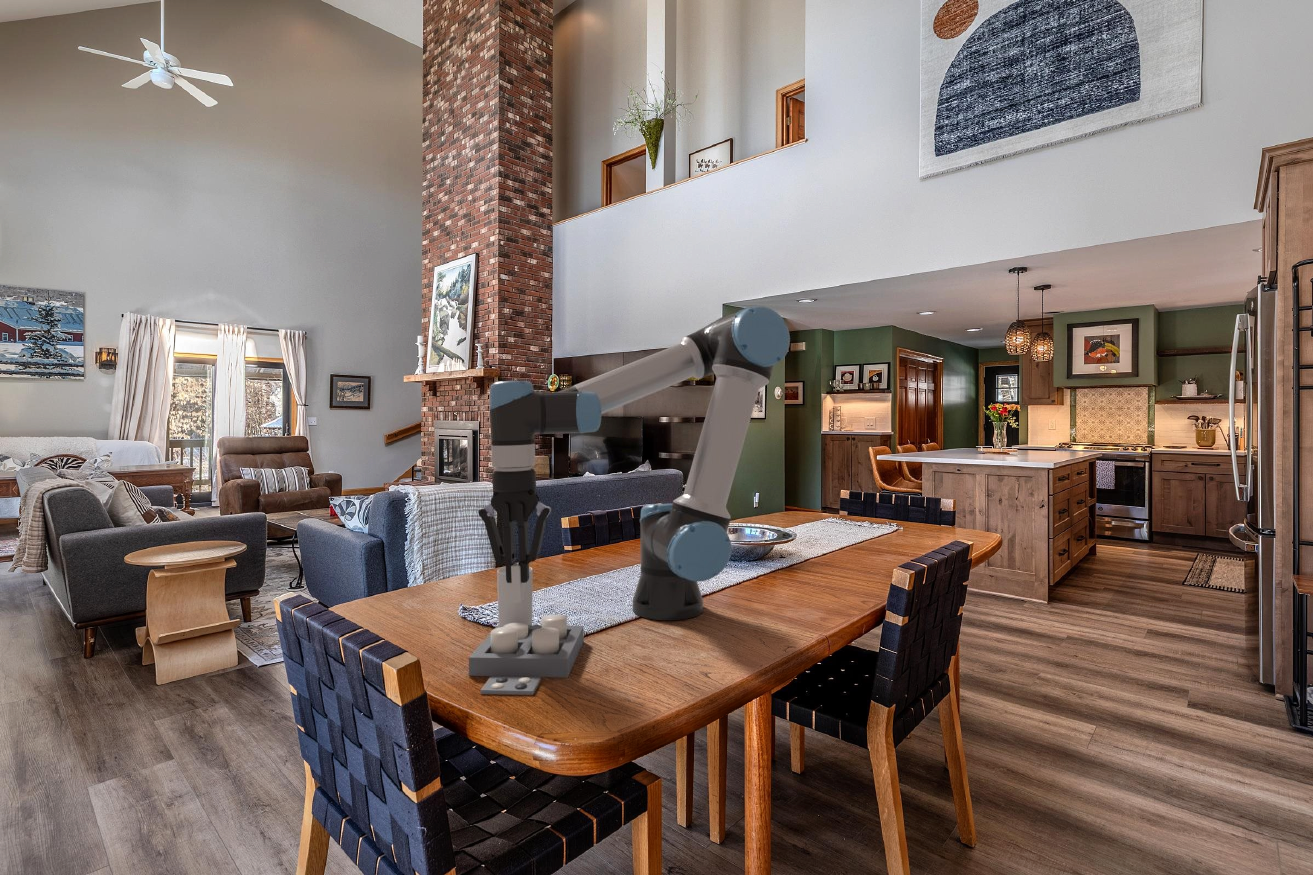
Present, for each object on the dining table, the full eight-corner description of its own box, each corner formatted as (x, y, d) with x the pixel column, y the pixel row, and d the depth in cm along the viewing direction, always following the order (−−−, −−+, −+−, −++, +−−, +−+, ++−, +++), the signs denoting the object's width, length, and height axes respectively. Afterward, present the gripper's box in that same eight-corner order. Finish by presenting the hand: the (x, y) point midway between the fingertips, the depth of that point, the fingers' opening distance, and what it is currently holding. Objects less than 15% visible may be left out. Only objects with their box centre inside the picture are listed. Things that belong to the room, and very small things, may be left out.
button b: (530, 642, 116) (530, 622, 116) (524, 651, 111) (524, 630, 111) (506, 641, 116) (506, 622, 116) (499, 650, 112) (499, 630, 112)
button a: (568, 634, 115) (568, 614, 115) (564, 642, 111) (564, 622, 111) (544, 633, 116) (544, 614, 116) (539, 642, 111) (539, 622, 111)
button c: (561, 648, 108) (561, 627, 108) (556, 658, 104) (556, 636, 104) (535, 647, 109) (535, 627, 109) (529, 657, 104) (529, 636, 104)
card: (540, 680, 100) (540, 676, 100) (533, 694, 95) (533, 689, 95) (490, 680, 101) (490, 675, 101) (480, 693, 96) (480, 688, 96)
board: (583, 641, 118) (583, 625, 118) (567, 677, 102) (567, 658, 102) (498, 640, 118) (498, 624, 118) (469, 675, 102) (468, 657, 102)
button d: (520, 647, 109) (520, 626, 109) (513, 657, 104) (513, 635, 104) (495, 647, 109) (495, 626, 109) (487, 657, 105) (487, 635, 104)
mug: (537, 633, 122) (536, 571, 122) (501, 638, 119) (501, 575, 119) (524, 618, 131) (524, 560, 131) (491, 623, 129) (490, 564, 128)
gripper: (554, 466, 116) (558, 593, 117) (484, 467, 117) (489, 594, 118) (545, 469, 109) (550, 606, 110) (470, 471, 109) (475, 607, 110)
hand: (518, 600), depth 114 cm, fingers closed
